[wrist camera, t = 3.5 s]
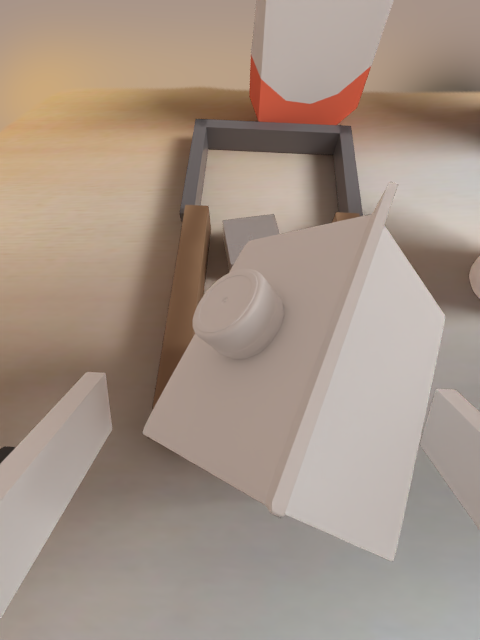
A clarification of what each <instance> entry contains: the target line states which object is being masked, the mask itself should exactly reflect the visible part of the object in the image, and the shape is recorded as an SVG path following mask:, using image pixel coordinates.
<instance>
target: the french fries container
mask: <svg viewBox="0 0 480 640" xmlns="http://www.w3.org/2000/svg"><path fill="white" fill-rule="evenodd" d="M392 3H393V0H257V1H256V10H255V21H254V30H253V39H252V49H251V70H250V96H249V97H250V99H251V102H252V105H253V108H254V110H255V113H256V116H257V119H258V121H259V122H276V123H298V124H320V125H337V124H338V123H339V122H341V121H342V120H343V119H344V118H345V117H347V116H348V115H349V114H350V113H351V112H353V111H354V110H355V109H356V108H357V106H358V103H359V101H360V98H361V95H362V92H363V89H364V86H365V83H366V80H367V77H368V74H369V71H370V68H371V65H372V62H373V59H374V56H375V53H376V50H377V47H378V44H379V41H380V39H381V36H382V33H383V30H384V27H385V24H386V21H387V18H388V15H389V12H390V9H391V6H392Z"/></svg>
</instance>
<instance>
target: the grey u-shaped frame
mask: <svg viewBox="0 0 480 640" xmlns="http://www.w3.org/2000/svg"><path fill="white" fill-rule="evenodd" d="M208 149H218V150H239V151H260V152H281V153H302V154H323V155H333V158H334V168H335V179H336V190H337V201H338V211H339V212H342V213H359V215H360V217H361V216H363V213H362V206H361V198H360V191H359V183H358V176H357V168H356V161H355V153H354V145H353V138H352V130H351V126H341V125H320V124H298V123H276V122H254V121H233V120H211V119H196V120H195V126H194V132H193V138H192V144H191V150H190V156H189V162H188V168H187V173H186V179H185V185H184V191H183V197H182V203H181V209H180V216H181V221H182V222H183V216H184V210H185V205H201V198H202V190H203V183H204V176H205V168H206V161H207V154H208Z"/></svg>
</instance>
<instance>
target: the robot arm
mask: <svg viewBox="0 0 480 640" xmlns="http://www.w3.org/2000/svg"><path fill="white" fill-rule="evenodd" d="M111 431H112V421H111V413H110V404H109V396H108V388H107V379H106V373H101V372H86V373H85V374H84V375H83V376H82V377H81V378H80V379H79V380H78V381H77V383H76V384H75V385H74V386H73V387H72V388H71V389H70V390H69V391H68V392H67V393H66V394H65V395H64V396H63V397H62V399H61V400H60V401H59V402H58V403H57V404H56V405H55V406H54V407H53V408H52V409H51V410H50V411H49V412H48V413H47V415H46V416H45V417H44V418H43V419H42V420H41V421H40V422H39V423H38V424H37V425H36V426H35V427H34V428H33V429H32V431H31V432H30V433H29V434H28V435H27V436H26V437H25V438H24V439H23V440H22V441H21V442H20V443H19V444H18V446H17V447H3V448H1V449H0V619H1V617H2V616H3V614H4V612H5V611H6V609H7V607H8V606H9V604H10V602H11V600H12V599H13V597H14V595H15V594H16V592H17V590H18V589H19V587H20V585H21V583H22V582H23V580H24V578H25V577H26V575H27V573H28V572H29V570H30V568H31V567H32V565H33V563H34V561H35V560H36V558H37V556H38V555H39V553H40V551H41V550H42V548H43V546H44V544H45V543H46V541H47V539H48V538H49V536H50V534H51V533H52V531H53V529H54V528H55V526H56V524H57V522H58V521H59V519H60V517H61V516H62V514H63V512H64V511H65V509H66V507H67V505H68V504H69V502H70V500H71V499H72V497H73V495H74V494H75V492H76V490H77V488H78V487H79V485H80V483H81V482H82V480H83V478H84V477H85V475H86V473H87V472H88V470H89V468H90V466H91V465H92V463H93V461H94V460H95V458H96V456H97V455H98V453H99V451H100V449H101V448H102V446H103V444H104V443H105V441H106V439H107V438H108V436H109V434H110V433H111ZM419 445H420V446H421V447H422V449H423V450H424V452H425V453H426V454H427V456H428V457H429V459H430V460H431V462H432V463H433V464H434V466H435V467H436V469H437V470H438V472H439V473H440V474H441V476H442V477H443V479H444V480H445V482H446V483H447V484H448V486H449V487H450V489H451V490H452V492H453V493H454V494H455V496H456V497H457V499H458V500H459V501H460V503H461V504H462V506H463V507H464V509H465V510H466V511H467V513H468V514H469V516H470V517H471V519H472V520H473V521H474V523H475V524H476V526H477V527H478V529H479V530H480V412H479V411H478V410H477V409H476V408H475V407H474V406H473V405H472V404H471V403H469V402H468V401H467V400H466V399H465V398H464V397H463V396H462V395H461V394H460V393H459V392H457V391H456V390H454V389H436V390H435V394H434V397H433V400H432V404H431V407H430V410H429V414H428V417H427V420H426V424H425V427H424V430H423V434H422V437H421V440H420V444H419Z"/></svg>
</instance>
